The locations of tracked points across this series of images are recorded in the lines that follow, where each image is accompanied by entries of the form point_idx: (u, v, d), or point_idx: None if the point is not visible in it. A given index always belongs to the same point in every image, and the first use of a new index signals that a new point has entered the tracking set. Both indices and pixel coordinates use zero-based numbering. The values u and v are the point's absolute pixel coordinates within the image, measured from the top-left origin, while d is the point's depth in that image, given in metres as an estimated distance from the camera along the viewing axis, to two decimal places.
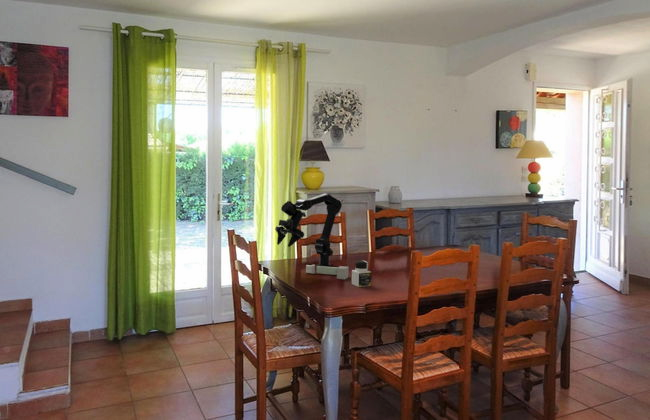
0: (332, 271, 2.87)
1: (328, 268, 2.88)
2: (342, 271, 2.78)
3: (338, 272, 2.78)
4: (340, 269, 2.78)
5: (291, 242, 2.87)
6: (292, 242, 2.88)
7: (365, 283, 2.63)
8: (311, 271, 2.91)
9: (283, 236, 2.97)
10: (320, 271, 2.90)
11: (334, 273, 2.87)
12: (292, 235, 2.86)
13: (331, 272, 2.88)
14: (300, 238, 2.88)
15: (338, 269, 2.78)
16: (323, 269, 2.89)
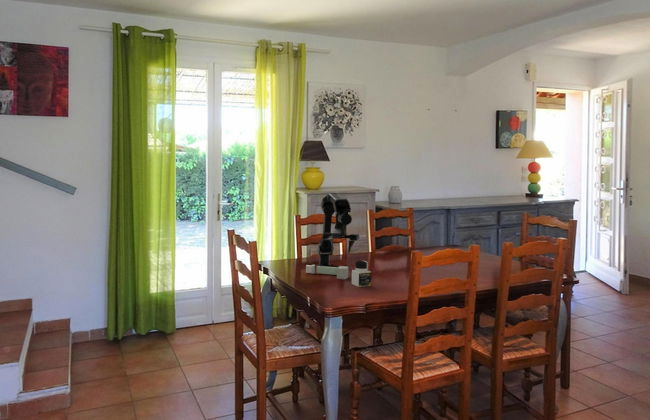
0: (332, 271, 2.87)
1: (328, 268, 2.88)
2: (342, 271, 2.78)
3: (338, 272, 2.78)
4: (340, 269, 2.78)
5: (350, 248, 2.77)
6: (351, 247, 2.78)
7: (365, 283, 2.63)
8: (311, 271, 2.91)
9: (332, 241, 2.82)
10: (320, 271, 2.90)
11: (334, 273, 2.87)
12: (350, 242, 2.75)
13: (331, 272, 2.88)
14: (356, 240, 2.79)
15: (338, 269, 2.78)
16: (323, 269, 2.89)
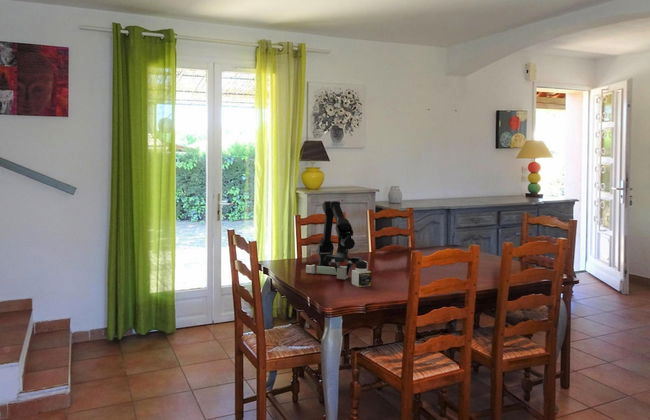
0: (332, 271, 2.87)
1: (328, 268, 2.88)
2: (342, 271, 2.78)
3: (338, 272, 2.78)
4: (340, 269, 2.78)
5: (348, 271, 2.80)
6: (349, 270, 2.80)
7: (365, 283, 2.63)
8: (311, 271, 2.91)
9: (338, 263, 2.83)
10: (320, 271, 2.90)
11: (334, 273, 2.87)
12: (349, 265, 2.77)
13: (331, 272, 2.88)
14: None
15: (338, 269, 2.78)
16: (323, 269, 2.89)
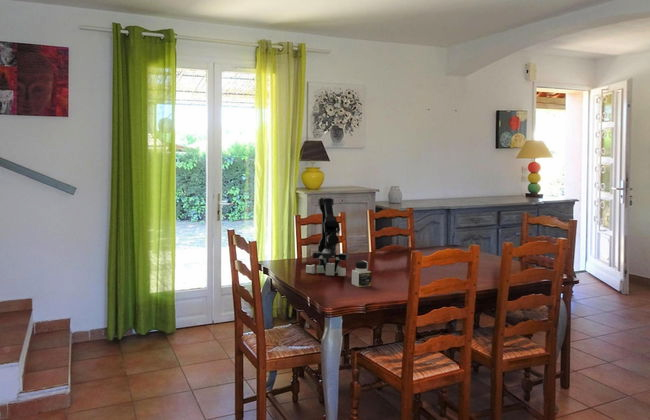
0: None
1: None
2: (331, 267, 2.84)
3: (327, 268, 2.84)
4: (329, 265, 2.84)
5: (336, 267, 2.87)
6: (337, 266, 2.87)
7: (365, 283, 2.63)
8: (311, 271, 2.91)
9: (325, 260, 2.90)
10: (321, 271, 2.91)
11: None
12: (336, 261, 2.85)
13: None
14: None
15: (327, 265, 2.84)
16: None
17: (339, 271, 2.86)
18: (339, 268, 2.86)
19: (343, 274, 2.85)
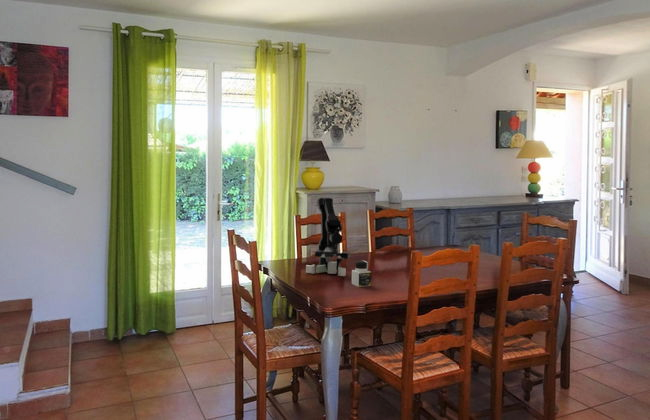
0: None
1: None
2: (333, 266, 2.88)
3: (329, 267, 2.88)
4: (331, 264, 2.88)
5: (338, 266, 2.90)
6: (339, 265, 2.91)
7: (365, 283, 2.63)
8: (311, 271, 2.91)
9: (327, 259, 2.94)
10: (320, 270, 2.92)
11: None
12: (338, 260, 2.88)
13: None
14: None
15: (329, 264, 2.88)
16: (323, 267, 2.93)
17: (339, 271, 2.86)
18: (339, 268, 2.86)
19: (343, 274, 2.85)
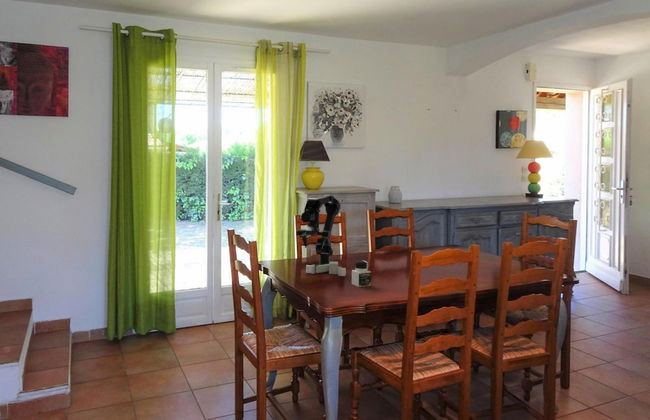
0: None
1: (327, 265, 2.95)
2: (334, 266, 2.90)
3: (330, 267, 2.90)
4: (332, 264, 2.90)
5: (323, 244, 2.98)
6: (323, 243, 2.98)
7: (365, 283, 2.63)
8: (311, 271, 2.91)
9: (306, 237, 3.02)
10: (320, 270, 2.92)
11: None
12: (323, 239, 2.95)
13: None
14: None
15: (330, 264, 2.90)
16: (323, 267, 2.93)
17: (339, 271, 2.86)
18: (339, 268, 2.86)
19: (343, 274, 2.85)
